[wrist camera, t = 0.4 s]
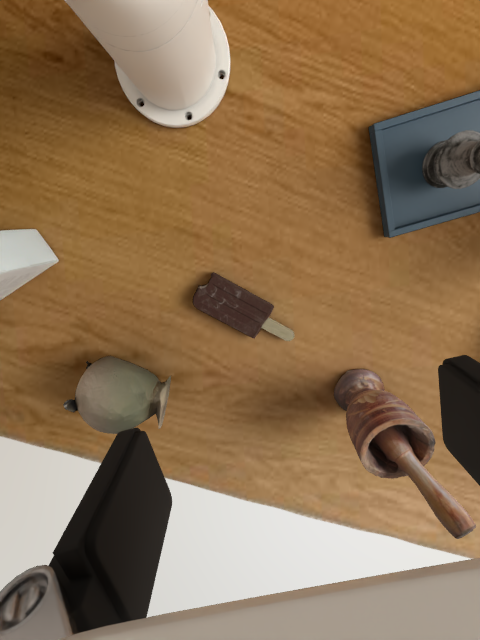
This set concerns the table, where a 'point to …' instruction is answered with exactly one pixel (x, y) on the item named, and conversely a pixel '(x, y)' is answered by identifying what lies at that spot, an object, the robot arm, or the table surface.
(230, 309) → the ice cream bar
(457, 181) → the stone chess piece
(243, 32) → the table surface
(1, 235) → the skincare box
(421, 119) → the blue tray
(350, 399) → the mortar and pestle
